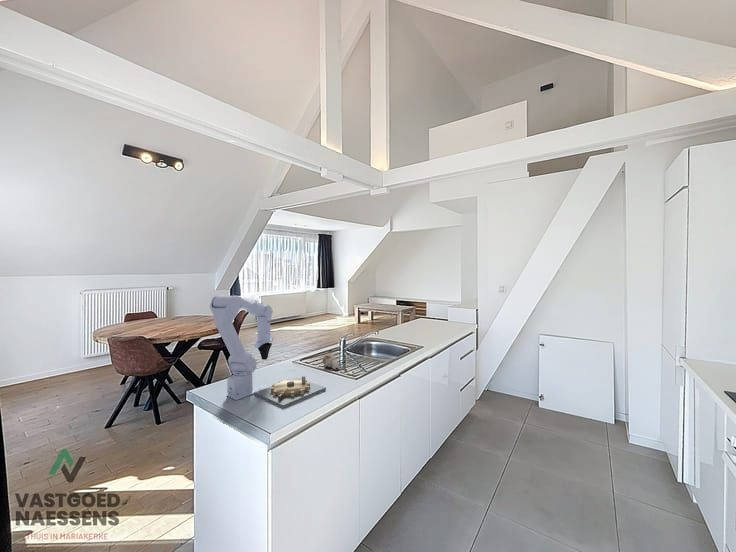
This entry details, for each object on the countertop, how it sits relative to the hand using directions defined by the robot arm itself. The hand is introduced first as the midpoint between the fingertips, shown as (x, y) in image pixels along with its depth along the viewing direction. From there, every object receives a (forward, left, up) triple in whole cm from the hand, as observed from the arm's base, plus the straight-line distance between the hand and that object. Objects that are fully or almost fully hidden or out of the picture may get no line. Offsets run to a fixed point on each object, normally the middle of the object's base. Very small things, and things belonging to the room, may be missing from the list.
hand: (264, 359), depth 145 cm
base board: (-1, -21, -10) cm, 24 cm away
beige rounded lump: (+34, -11, -11) cm, 37 cm away
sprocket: (-1, -21, -9) cm, 23 cm away
